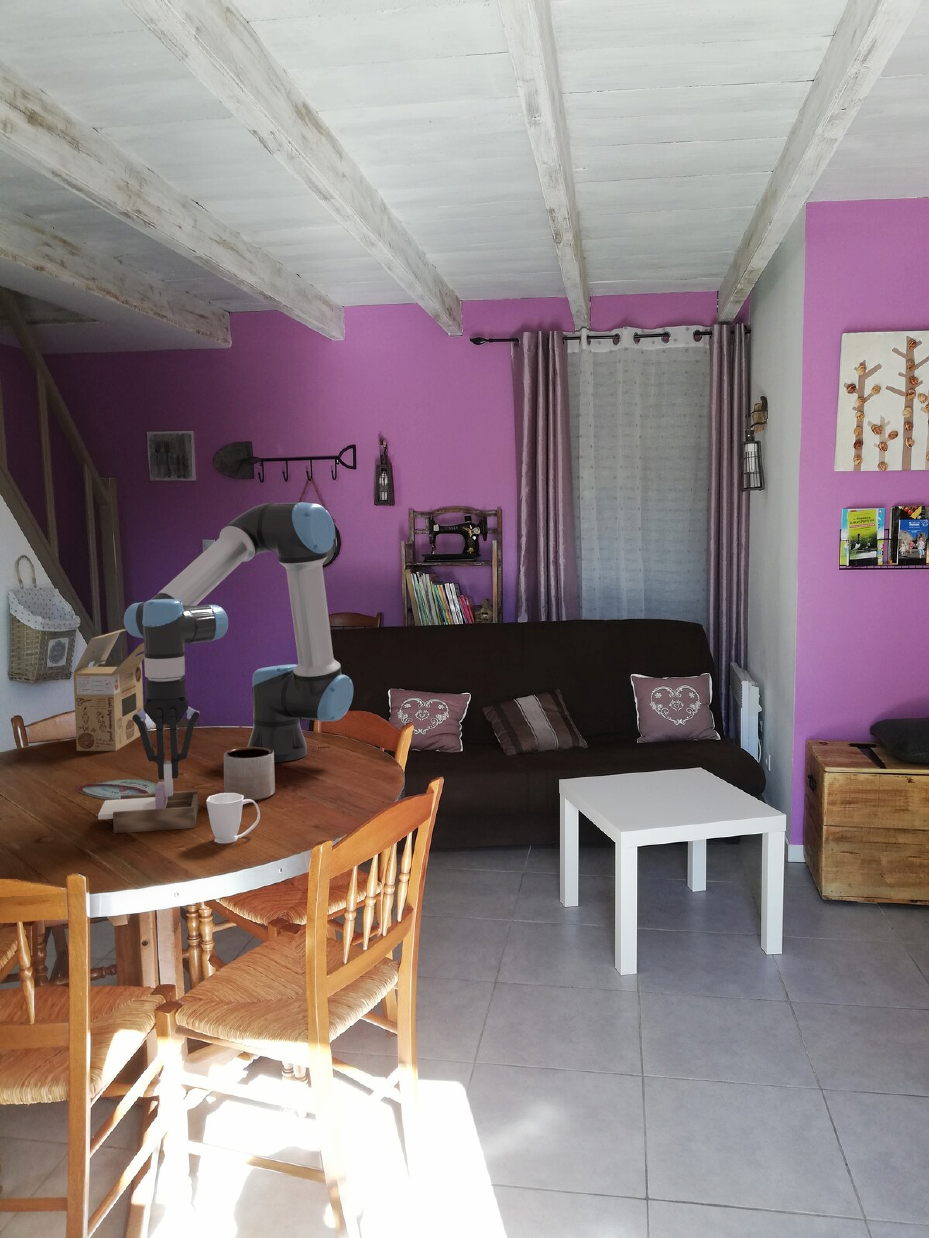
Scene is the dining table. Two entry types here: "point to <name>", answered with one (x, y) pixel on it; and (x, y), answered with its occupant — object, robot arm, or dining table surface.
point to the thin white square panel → (134, 803)
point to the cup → (227, 816)
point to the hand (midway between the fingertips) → (169, 794)
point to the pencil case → (159, 814)
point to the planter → (249, 772)
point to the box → (107, 696)
